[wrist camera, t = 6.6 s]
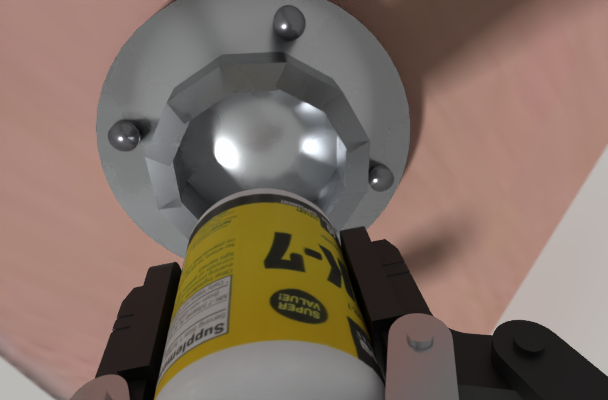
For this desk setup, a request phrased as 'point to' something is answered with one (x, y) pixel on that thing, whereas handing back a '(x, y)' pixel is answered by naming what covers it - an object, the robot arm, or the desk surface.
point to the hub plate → (251, 113)
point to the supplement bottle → (267, 309)
